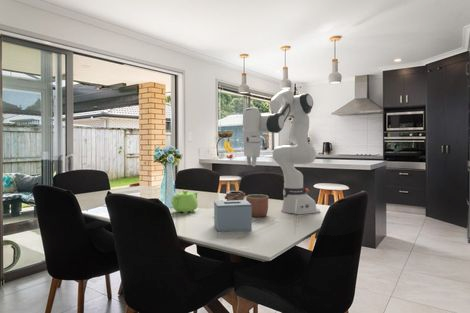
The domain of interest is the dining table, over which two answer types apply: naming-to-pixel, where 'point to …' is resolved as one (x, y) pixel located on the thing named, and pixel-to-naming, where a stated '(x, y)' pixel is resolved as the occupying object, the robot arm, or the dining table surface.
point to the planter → (258, 204)
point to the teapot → (185, 202)
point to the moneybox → (232, 215)
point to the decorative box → (235, 195)
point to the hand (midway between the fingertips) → (251, 165)
